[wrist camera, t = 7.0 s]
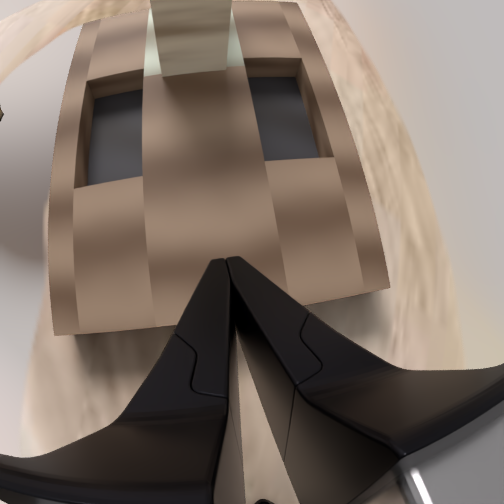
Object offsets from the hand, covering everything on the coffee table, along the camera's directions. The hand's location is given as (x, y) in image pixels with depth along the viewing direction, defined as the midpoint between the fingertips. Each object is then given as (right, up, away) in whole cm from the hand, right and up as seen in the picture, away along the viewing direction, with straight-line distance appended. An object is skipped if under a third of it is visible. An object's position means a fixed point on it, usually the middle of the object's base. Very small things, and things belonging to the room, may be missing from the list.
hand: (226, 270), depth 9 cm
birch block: (-5, +19, +13) cm, 24 cm away
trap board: (-3, +10, +14) cm, 18 cm away
